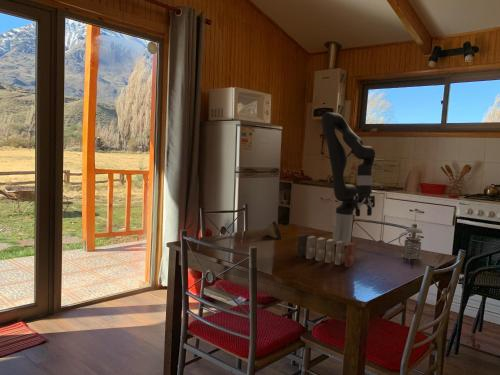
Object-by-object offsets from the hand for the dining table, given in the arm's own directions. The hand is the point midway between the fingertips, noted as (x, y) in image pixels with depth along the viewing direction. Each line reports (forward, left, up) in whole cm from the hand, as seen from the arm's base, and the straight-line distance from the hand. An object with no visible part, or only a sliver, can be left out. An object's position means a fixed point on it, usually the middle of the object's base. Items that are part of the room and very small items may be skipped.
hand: (363, 215), depth 207 cm
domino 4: (+10, -31, -19) cm, 37 cm away
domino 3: (+7, -33, -19) cm, 38 cm away
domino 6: (+18, -26, -19) cm, 37 cm away
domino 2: (+3, -35, -19) cm, 40 cm away
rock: (-39, -27, -19) cm, 52 cm away
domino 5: (+14, -28, -19) cm, 37 cm away
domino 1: (-1, -37, -19) cm, 42 cm away
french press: (+18, +17, -19) cm, 30 cm away
